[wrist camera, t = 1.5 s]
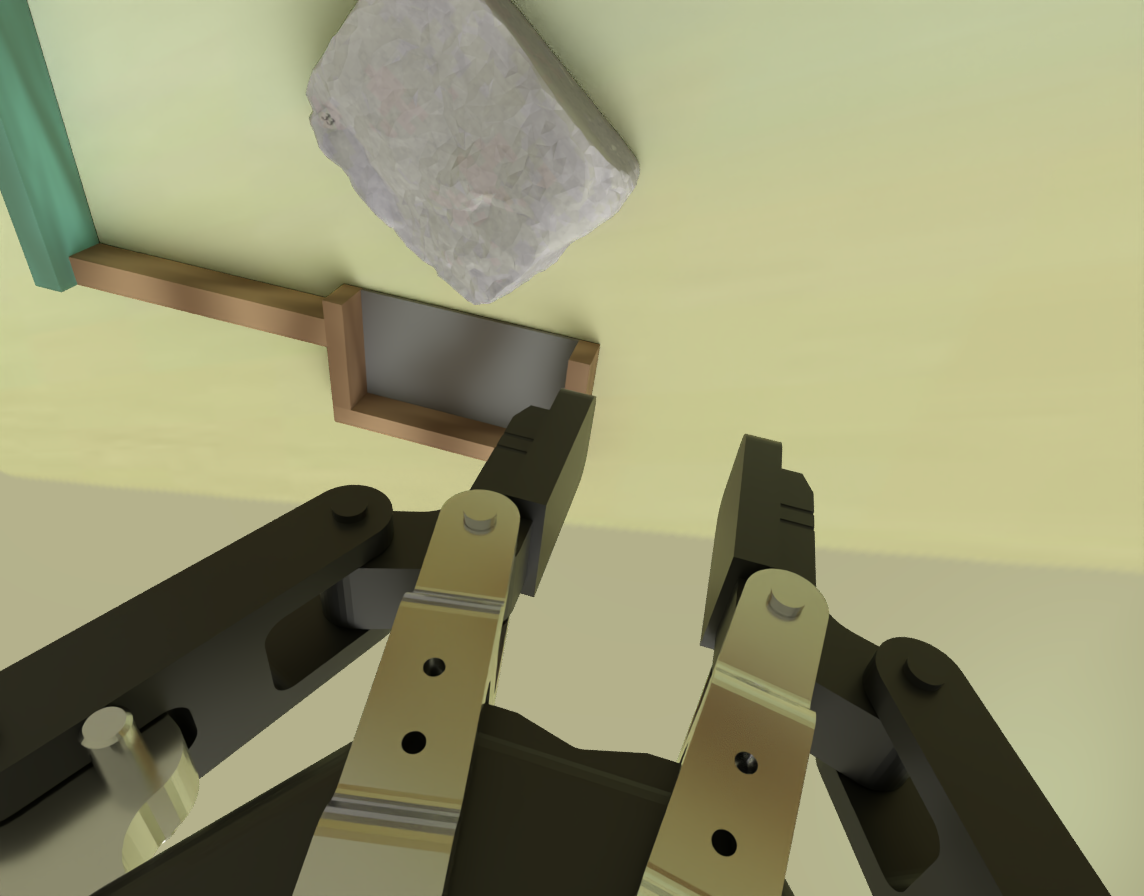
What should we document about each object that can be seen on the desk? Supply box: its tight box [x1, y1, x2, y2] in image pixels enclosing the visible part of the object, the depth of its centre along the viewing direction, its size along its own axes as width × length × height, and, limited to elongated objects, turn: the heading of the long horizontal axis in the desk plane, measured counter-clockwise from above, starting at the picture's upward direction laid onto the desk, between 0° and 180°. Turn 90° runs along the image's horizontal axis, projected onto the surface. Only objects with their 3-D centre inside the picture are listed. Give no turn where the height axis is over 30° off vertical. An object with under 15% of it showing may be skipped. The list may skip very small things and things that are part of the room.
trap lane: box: [0, 0, 600, 461], centre depth 29 cm, size 28×29×3 cm
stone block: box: [306, 0, 640, 305], centre depth 28 cm, size 12×5×10 cm
